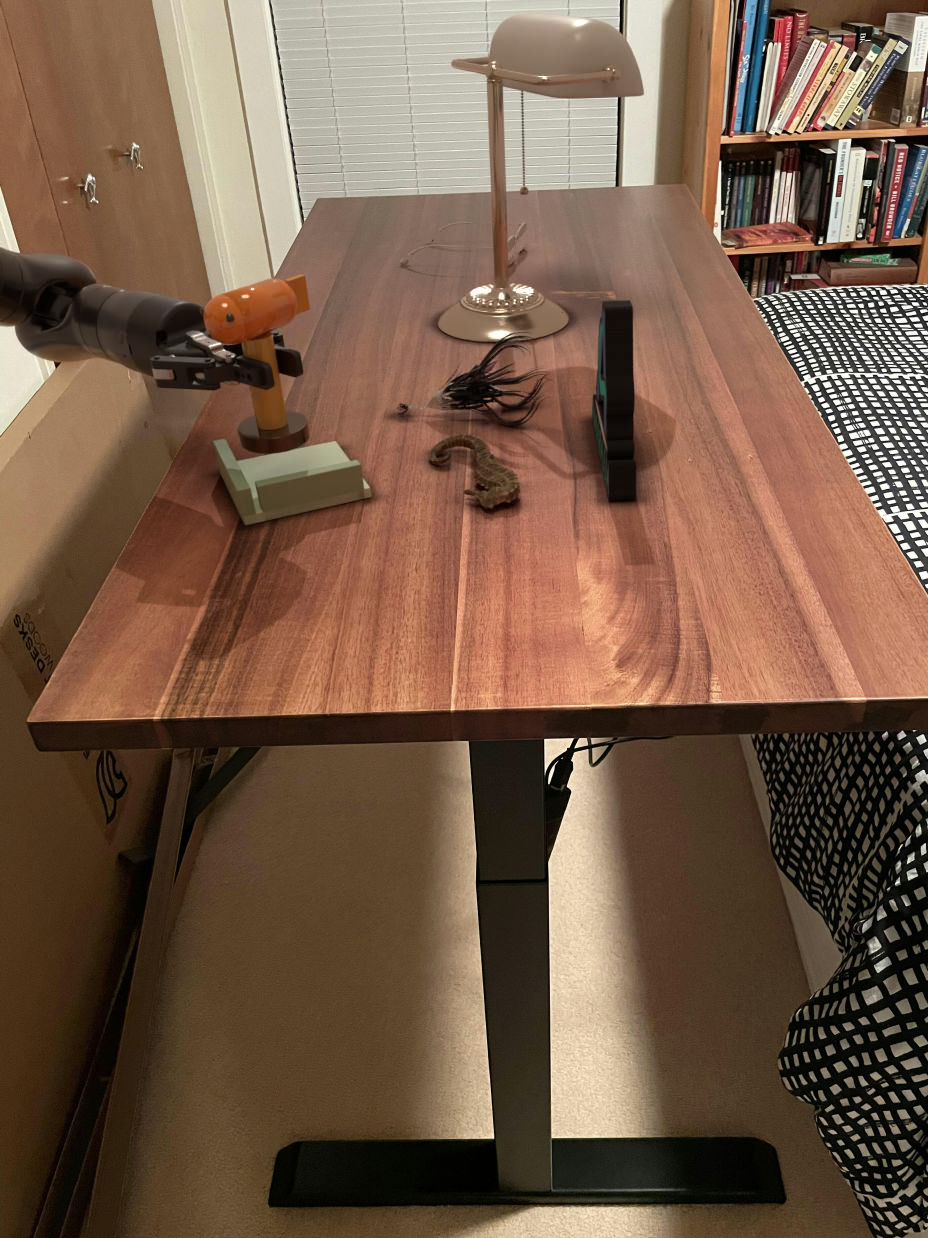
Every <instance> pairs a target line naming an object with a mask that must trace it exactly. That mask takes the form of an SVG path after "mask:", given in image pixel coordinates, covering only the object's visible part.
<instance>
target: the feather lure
mask: <svg viewBox="0 0 928 1238" xmlns="http://www.w3.org/2000/svg"><path fill="white" fill-rule="evenodd" d="M517 333H528V331H520V332H514V333H511V334H508V335H506V336H504V337H503V338H502V339H500V340H499V341H498V342H495V344H493V346H492V347H491V348H490V350H489V351H488V352H487V354H485V356H484V357H483V359H482V360H481V361H480V363H478V364H475V365H474V366H473V367H472V368H471V369H470V370H469V371H468V372H465V373H462V372H463V371H464V370H463V369H461V371H459V374H457V375H456V377H454V376H455V374H456V373H457V372H458V369H459V368H460V365H461V363H462V360H460V363H458V366H457V368H456V369H455V372H453V373H452V374H451V376H450V377H449V378H448V379H447V381H446V382H445V383H444V384H443V385H442V386H440V387H439V389H438V390H437V391H435V393H434V394H433V395H432V396H431V398H430V399H429V400H428V402H427V403H426V404H425V406H420V410H422V409H427V408H430V409H433V410H439V411H449V412H450V411H451V412H453V411H471V412H475V413H478V414H481V415H483V417H486V415H484V414H483V413H487V412H490V413H491V414H492V416H493V417H494V418H495V419H496V421H498V422H500V423H501V424H503V425H505V426H507V427H512V428H513V427H519V426H522V425H524V424H526V423H527V422H528V421H529V420H531V418H532V417H533V416H534V415H535V413H536V411H537V410H538V408H539V406H540V405H541V403H542V402H544V401H545V400H546V399H549V398H550V396H546V397H544V396H545V394H544V393H546V392H549V391H550V389H547V390H545V391H542V388H543V387H544V385H545V383H548V381H549V378H548V377H547V376H550V373H547V371H546V370H545V371H544V370H541V369H543V366H540V367H533V368H530V369H529V370H528V371H526V372H525V373H522V374H521V375H518V376H516V377H506V376H504V375H507V374H510V373H511V374H512V373H516V372H517V371H518V370H511V369H509V367H511V366H514V365H516V362H513V363H510V364H508V365H505V366H503V367H501V368H500V369H497V368H496V367H498V368H499V366H496V365H497V363H498V362H499V360H498V359H497V360H494V359H496V358H497V357H498V356H499V355H500V354H501V353H502V352H504V351H505V350H506V349H510V348H513V349H515V350H516V351H519V352H521V353H522V354H523V355H524V356H526V353H525V351H524V350H526V351H527V352H528V353H529V354H530V355H529V356H532V355H531V351H530V350H531V349H530V347H529V346H530V344H531V342H530V341H529V340H528V339H527V338H525V339H527V340H523V341H514V340H513V341H509V340H512V339H517V338H524V337H528V336H513V337H510V338H507V339H505V338H506V337H508V336H510V335H513V334H517ZM530 334H531V333H530ZM534 334H535V333H534ZM531 335H532V334H531ZM532 336H533V335H532ZM528 338H531V337H528ZM504 339H505V340H504ZM502 340H503V341H502ZM531 340H534V341H535V342H537V341H536V338H535V339H533V338H532V339H531ZM501 341H502V342H501ZM508 341H509V342H508ZM511 343H517V344H511ZM529 343H530V344H529ZM506 344H508V345H506ZM519 344H521V345H519ZM504 345H505V346H504ZM523 345H524V346H523ZM525 346H526V347H527V348H528V349H527V348H526V347H525ZM522 348H523V349H524V350H523V349H522ZM532 349H533V351H534V350H535V349H534V348H532ZM493 360H494V361H493ZM494 368H496V369H497V370H496V369H494ZM493 369H494V370H495V371H493ZM539 370H541V371H539ZM491 371H492V372H491ZM535 371H536V372H535ZM461 373H462V374H461ZM539 373H540V374H539ZM553 375H554V376H556V373H555V374H554V373H553ZM536 377H537V378H536ZM534 378H536V382H535V383H534V386H533V387H532V390H531V391H529V392H528V391H524V390H522V389H505V388H499V387H497V386H514V385H518V384H522V383H524V382H527V381H530V380H532V379H534ZM545 378H546V379H545ZM451 379H452V380H451ZM543 379H545V381H544V382H543ZM552 381H553V382H554V380H553V379H551V382H552ZM548 384H549V383H548ZM541 391H542V392H541ZM520 393H525V394H526V395H527V396H526V395H523V394H520ZM501 397H514V398H515V397H517V398H519V399H520V398H521V400H520V401H519V402H517V403H514V404H508V403H505V402H503V401H502V400H501V399H499V398H501ZM542 397H543V398H542ZM541 398H542V399H541ZM537 401H539V402H537ZM495 403H497V404H498V405H499V406H501V407H503V408H504V409H507V410H517V409H521V408H523V407H524V406H526V405H528V404H529V403H530V404H529V407H528V408H527V410H526V413H525V415H524V416H522V417H521V418H518V419H516V420H512V421H510V420H506V419H504V418H503V417H501V416H500V415H499V414H498V413H497V412H495V410H494V409H493V408H492V407H491V406H490V405H492V406H493V404H495ZM536 403H537V404H536ZM489 404H490V405H489ZM535 406H536V407H535ZM483 407H486V408H487V409H481V408H483ZM414 408H415V410H418V409H419V407H418V403H417V402H416V401H415V403H414V404H413V405H412V404H410V405H408V404H407V403H402V402H399V404H397V407H396V410H397V413H398V416H403V415H405V413H407V412H408V411H410V412H411V411H412V412H413V410H414ZM533 409H534V410H533ZM482 412H483V413H482ZM530 414H531V415H530Z"/></svg>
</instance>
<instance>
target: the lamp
mask: <svg viewBox="0 0 928 1238" xmlns="http://www.w3.org/2000/svg"><path fill="white" fill-rule="evenodd" d="M493 33H494V34H493V35H492V39H491V41H490V48H489V52H488V53H489V54H488V55H486V56H476V57H475V56H474V57H463V58H455V59H452V60H451V62H450V64H451V67H452V68H453V69H455V70H456V69H457V70H460V71H466V72H470V73H475V74H478V75H479V74H480V75H485V77H486V96H487V97H486V99H487V100H486V101H487V126H488V127H487V128H488V152H489V154H488V155H489V176H490V177H489V178H490V199H491V200H490V201H491V223H492V224H491V226H492V247H493V248H492V249H493V251H492V252H493V253H492V254H493V275H494V276H493V278H494V284H493V283H488V284H486V285H480V286H475V287H474V288H473V289H470V290H469V291H468V292H467V294H466V295H464V296H463V297H462V298H461V299H460V301H457V302H455V303H454V304H452V305H451V306H449V307H448V308H447V309H445V311H444V312H443V313H442V314H441V315H440V316H439V317H438V319H437V320H436V321H437V324H436V325H437V327H438V329H439V330H440V331H441V332H443V333H444V334H446V335H447V336H450V337H453V338H456V339H461V340H465V341H469V342H478V343H479V342H480V343H481V342H482V343H497V342H498V341H499V340H500V339H502V338H503V337H504V336H506V335H508V334H511V333H514V332H520V331H528V333H517V334H513V335H510V336H508V337H506V338H505V339H507V338H510V337H513V336H528V337H531V338H528V337H524V338H517V339H512V340H509V341H513V340H514V341H522V342H524V340H525V341H531V340H534V339H535V340H536V339H539V338H542V337H547V336H550V335H553V334H555V333H556V332H559V331H561V330H562V329H564V328H565V327H566V326H567V325H568V323H569V322H570V316H569V314H568V313H567V312H566V310H565V309H564V308H563V307H561V305H559V304H558V305H557V303H556V302H555V301H553V300H551V299H550V298H547V297H544V295H543V294H542V293H540V292H539V291H538V290H536V289H535V288H534V287H532V286H530V285H527V284H525V285H524V284H523V283H516V282H511V283H510V271H509V267H510V265H508V239H509V237H508V236H509V235H508V225H507V224H508V209H507V208H508V205H507V175H506V173H507V171H506V170H507V169H506V141H505V140H506V139H505V113H504V111H505V109H504V107H505V105H504V88H508V89H511V90H516V91H520V92H521V93H520V95H521V96H520V101H521V106H520V107H521V109H520V111H521V112H520V113H521V116H520V117H521V151H522V152H521V154H522V157H521V158H522V161H521V162H522V165H521V166H522V186H521V187H520V189H519V193H520V195H522V196H527V195H528V194H529V188H528V187H527V186H526V178H525V177H526V166H525V165H526V163H525V162H526V161H525V159H526V157H525V156H526V155H525V130H524V129H525V124H524V123H525V113H524V110H525V109H524V104H525V103H524V92H525V93H529V94H535V95H540V96H543V97H547V98H554V99H567V100H568V99H571V100H572V99H575V100H576V99H577V100H578V99H579V100H580V99H581V100H583V99H607V98H608V99H609V98H632V97H633V98H634V97H642V96H644V95H645V89H644V83H643V78H642V75H641V69H640V68H639V64H638V62H637V58H636V56H635V55H634V52H633V50H632V47H631V45H630V44H629V41H628V40H627V39H626V37H625V36H624V35H623V34H622V33H621V32H620V31H619V30H618V29H617V28H615V26H613V25H611V24H609V23H607V22H604V21H602V20H598V19H595V18H591V17H583V16H574V15H573V16H572V15H564V14H563V15H562V14H561V15H560V14H551V13H541V12H540V13H539V12H538V13H537V12H525V13H524V12H523V13H519V14H515V15H512V16H509V17H507V18H506V19H504V20H502V21H501V23H500V24H499V25H498V27H497V28H496V30H495V32H493ZM562 312H563V313H562ZM530 333H531V334H532V335H533V336H532V335H531V334H530ZM534 333H535V334H534ZM525 338H527V339H528V340H527V339H525ZM532 338H533V339H532ZM505 339H504V340H505ZM502 341H503V340H502ZM502 341H501V342H502ZM509 341H508V342H509Z"/></svg>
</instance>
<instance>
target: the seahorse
mask: <svg viewBox="0 0 928 1238" xmlns="http://www.w3.org/2000/svg"><path fill="white" fill-rule="evenodd" d="M456 447H458V448H461V447H463V448H467V449H468V450H471V451H472V452H473V454H475V466H474V468H473V471H474V474H473V475H474V477H473V479H472V481H473V482H476V484H479V486H481V487H484V489H485V490H481V491H479V490H473V489H469V488H466V489H464V490H463V491H462V494H464V495H466V496H472V497H474V499H475V501H476V504H481V506H482V507H483V508H485V510H487V509H492V510H494V507H496V506H499V505H500V504H503V503H509V504H510V503H511V502H512V501H514V500H515V499H516V497H517V496H518V495H519V494H520V492H521V489H522V488H521V483H520V482H519V477H518V474H517V473H516V472H514V471H513V470H512V469H510V468H507V467H505V466H503V465H502V464H501V462H500V458H499V457H498V458H496V457H495V456H494V454H493V453H491V452H490V451H491V450H490V449H491V447H490V446H489V444H488V443H487V442H486V440H484V438H482V437H481V436H477V435H473V434H472V433H469V434H467V433H462V434H457V435H452V436H449V437H445V438H443V439H442V440H441V441H439V442H438V443H436V444H434V446H433V447H431V449H430V450H429V453H428V456H427V457H428V459H429V462H430V463H431V464H433V465H435V466H436V465H438V466H440V465H443V464H445V463H447V462H448V461H449V460H451V458H452V457H451V456H452V454H451V452H450V451H447V452H446V453H445V454H446V455H445V456H444V457H438V456H439V455H440V454H441V453H443V452H444V451H446V450H449V449H452V448H456Z"/></svg>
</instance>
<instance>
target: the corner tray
mask: <svg viewBox="0 0 928 1238" xmlns="http://www.w3.org/2000/svg"><path fill="white" fill-rule="evenodd" d="M212 444H213V448H214V449H213V450H214V452H215V457H216V461H217V466H218V469H219V474H220V476H221V478H222V480H223V482H224V484H225V487H226V489H227V491H228V494H229V495H230V497H231V499H232V501H233V504H234V506H235V508H236V510H237V512H238V514H239V516H240V519H241V521H242V523H243V525H244V526H249V525H255V524H258V523H262V522H266V521H272V520H276V519H280V518H281V519H282V518H285V517H289V516H294V515H299V514H303V513H307V512H312V511H316V510H321V509H325V508H329V507H334V506H338V505H343V504H348V503H352V502H356V501H360V500H365V499H370V498H372V489H371V487H370V485H369V484H368V483H367V481H366V479H364V477H363V470H362V464H361V462H360V461H359V460H358V459H353V460H350V459H349V457H348V455H347V454H346V453H345V452H344V451H343V449H342V448H341V446H340V445H339V444H338V442H337V441H336V440H334V441H328V442H323V443H318V444H314V445H309V446H304V447H298V448H296V449H293V450H290V451H287V452H282V453H275V454H263V455H260V456H255V457H250V458H245V459H240V460H237V459H236V457H235V455H234V453H233V451H232V450H231V448H230V445H229V443H228V442H227V439H226V438H221V439H216V440H212Z"/></svg>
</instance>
